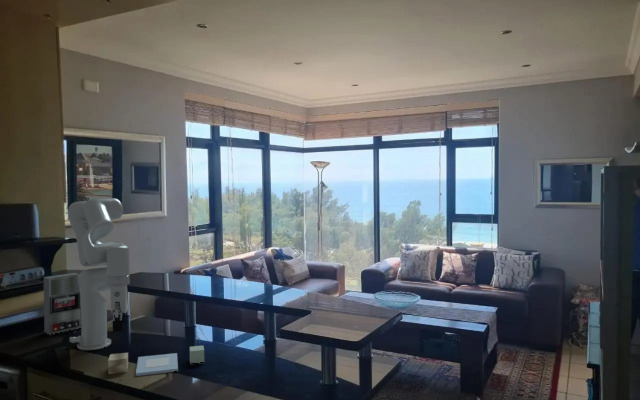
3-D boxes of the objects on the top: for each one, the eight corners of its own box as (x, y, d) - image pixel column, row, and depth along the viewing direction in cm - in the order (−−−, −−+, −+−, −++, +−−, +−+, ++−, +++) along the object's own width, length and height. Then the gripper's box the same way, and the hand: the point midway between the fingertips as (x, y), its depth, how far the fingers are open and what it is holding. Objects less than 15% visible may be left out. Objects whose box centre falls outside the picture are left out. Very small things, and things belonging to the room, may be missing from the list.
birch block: (108, 374, 167) (108, 360, 167) (110, 368, 172) (110, 354, 172) (126, 372, 169) (126, 358, 168) (128, 366, 174) (128, 352, 174)
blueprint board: (135, 376, 165) (135, 373, 165) (138, 359, 180) (138, 356, 180) (178, 371, 169) (177, 368, 169) (177, 355, 185) (177, 352, 184)
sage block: (190, 364, 176) (190, 351, 176) (189, 359, 181) (189, 346, 180) (204, 363, 177) (204, 349, 177) (203, 358, 182) (203, 345, 182)
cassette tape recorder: (49, 336, 207) (48, 279, 206) (44, 333, 211) (43, 277, 210) (82, 328, 218) (81, 274, 217) (76, 326, 222) (75, 272, 221)
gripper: (127, 283, 162) (128, 333, 163) (131, 275, 179) (132, 320, 179) (103, 285, 160) (104, 336, 160) (109, 276, 177) (110, 322, 177)
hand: (119, 327), depth 170 cm, fingers open, 9 cm apart
